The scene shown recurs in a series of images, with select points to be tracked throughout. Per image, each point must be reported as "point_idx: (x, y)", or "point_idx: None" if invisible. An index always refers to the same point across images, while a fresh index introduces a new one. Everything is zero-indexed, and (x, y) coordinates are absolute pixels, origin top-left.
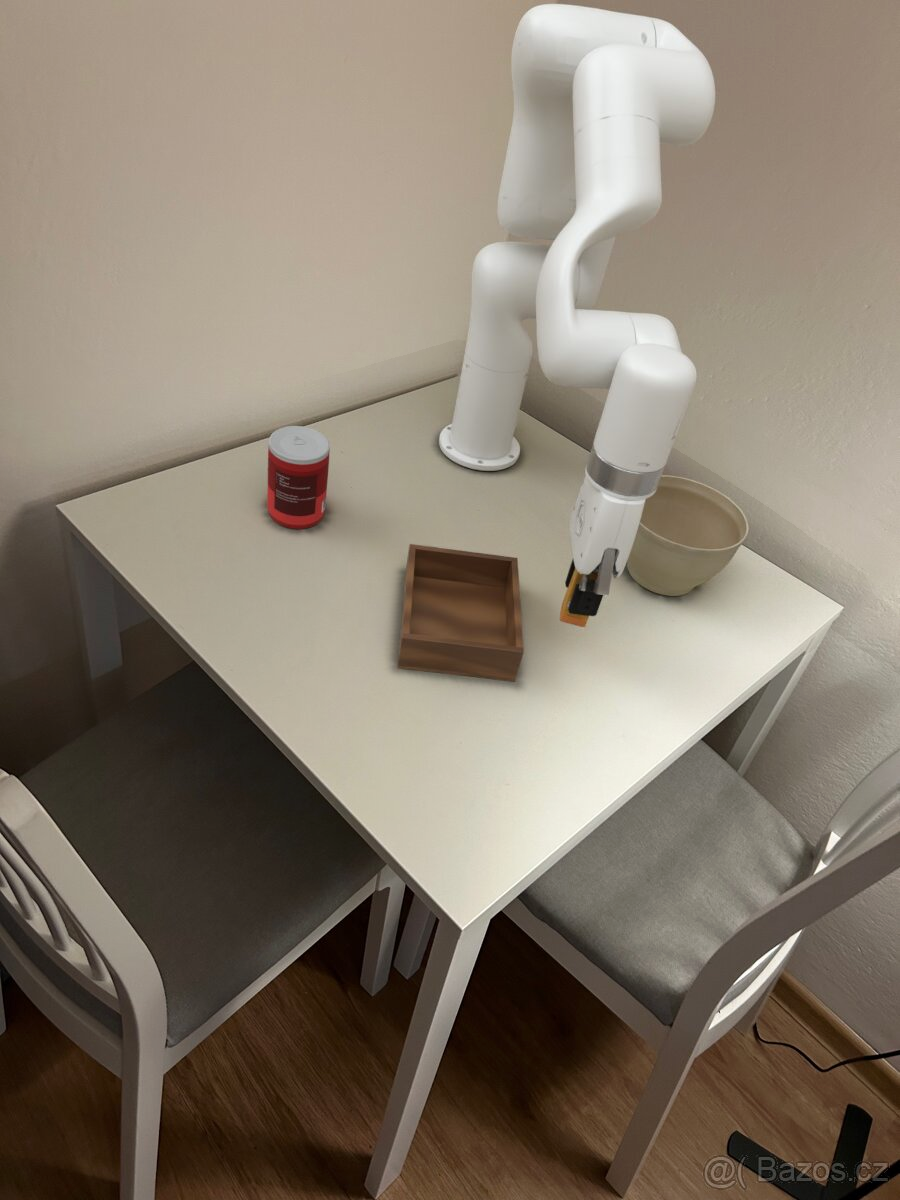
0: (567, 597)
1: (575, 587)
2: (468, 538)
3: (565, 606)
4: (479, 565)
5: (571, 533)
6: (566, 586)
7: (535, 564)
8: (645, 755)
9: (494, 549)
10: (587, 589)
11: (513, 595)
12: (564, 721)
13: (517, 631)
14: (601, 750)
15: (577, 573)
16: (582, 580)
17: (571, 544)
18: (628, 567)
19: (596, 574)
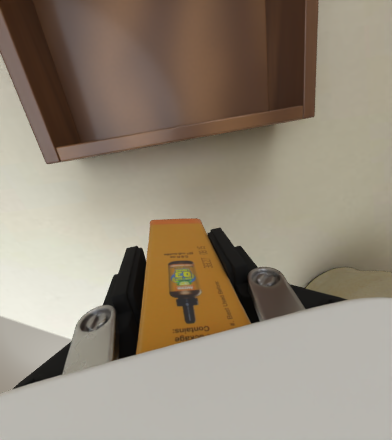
0: (149, 246)
1: (123, 286)
2: (378, 33)
3: (149, 236)
4: (290, 40)
5: (292, 342)
6: (211, 231)
7: (328, 156)
8: (41, 321)
9: (354, 86)
10: (64, 351)
11: (204, 122)
12: (40, 234)
13: (100, 144)
14: (18, 280)
15: (142, 307)
16: (85, 340)
17: (205, 338)
18: (334, 271)
19: None
